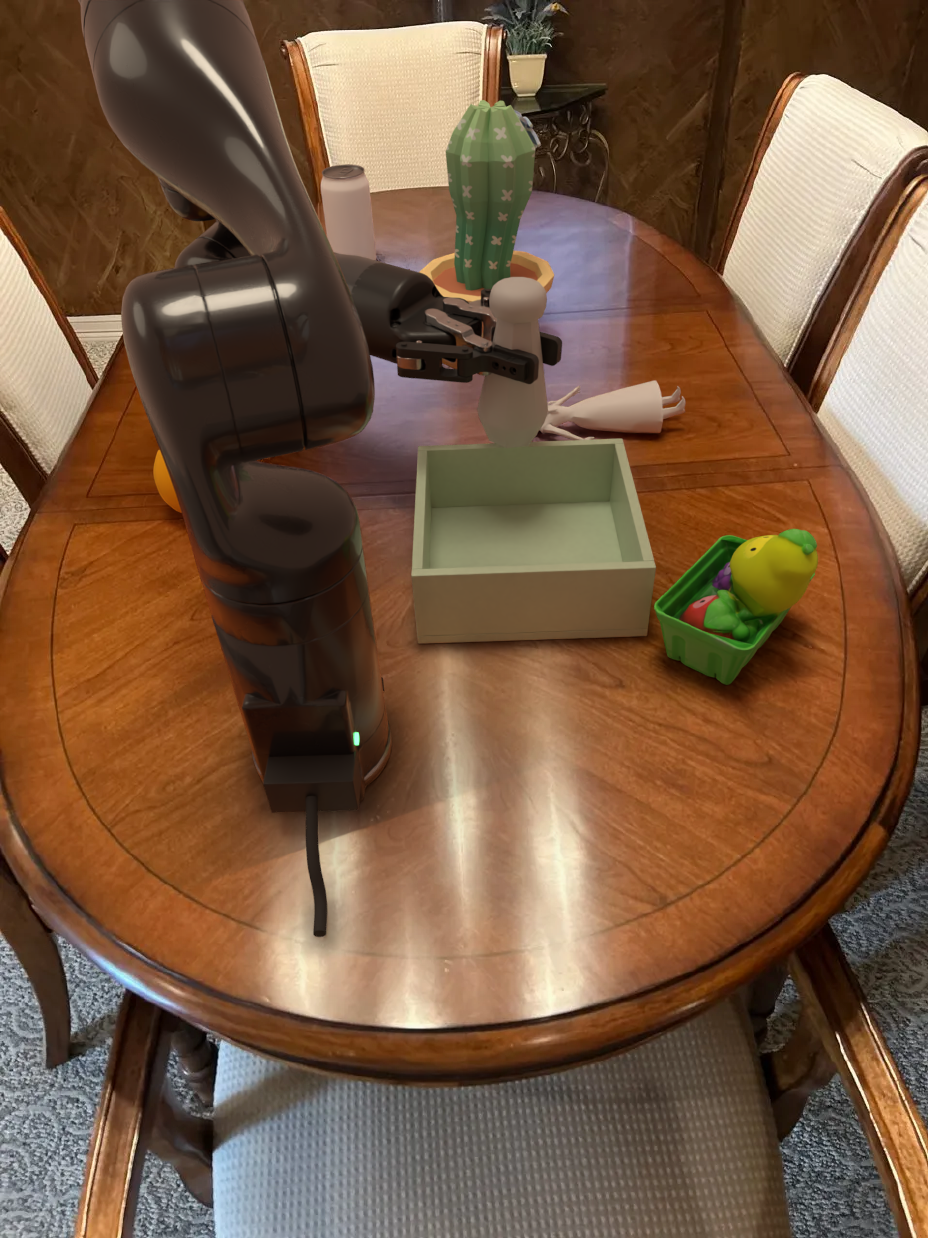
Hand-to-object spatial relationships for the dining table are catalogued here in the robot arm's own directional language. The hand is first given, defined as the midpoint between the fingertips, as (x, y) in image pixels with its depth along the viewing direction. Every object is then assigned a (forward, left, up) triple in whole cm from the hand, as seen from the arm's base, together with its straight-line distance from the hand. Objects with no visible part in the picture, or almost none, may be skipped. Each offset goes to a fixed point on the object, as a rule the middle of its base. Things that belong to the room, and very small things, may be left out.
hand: (547, 361), depth 71 cm
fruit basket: (-16, -13, -16) cm, 26 cm away
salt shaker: (+2, +3, -8) cm, 8 cm away
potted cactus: (+37, +4, -16) cm, 40 cm away
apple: (+5, +31, -16) cm, 35 cm away
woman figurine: (+16, -6, -16) cm, 23 cm away
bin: (-6, +2, -16) cm, 17 cm away
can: (+63, +22, -16) cm, 68 cm away
